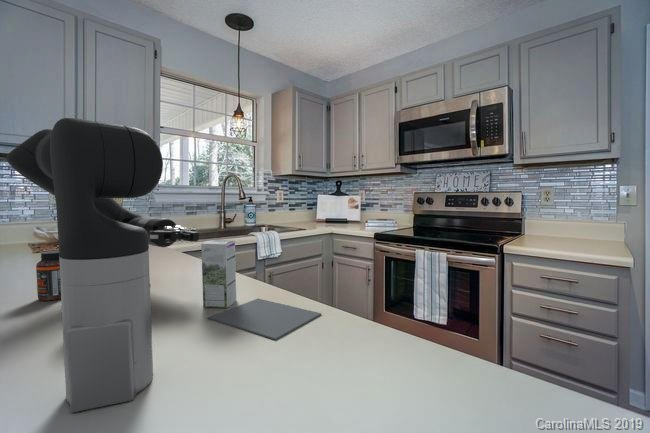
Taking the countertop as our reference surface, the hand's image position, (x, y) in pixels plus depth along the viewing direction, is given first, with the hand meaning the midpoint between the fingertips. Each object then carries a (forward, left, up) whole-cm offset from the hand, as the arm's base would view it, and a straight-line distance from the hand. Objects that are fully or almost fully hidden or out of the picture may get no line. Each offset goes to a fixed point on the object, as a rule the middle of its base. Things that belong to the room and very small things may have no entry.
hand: (196, 236), depth 76 cm
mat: (-18, -13, -15) cm, 27 cm away
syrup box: (-7, -5, -15) cm, 17 cm away
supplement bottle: (+13, +32, -15) cm, 38 cm away
